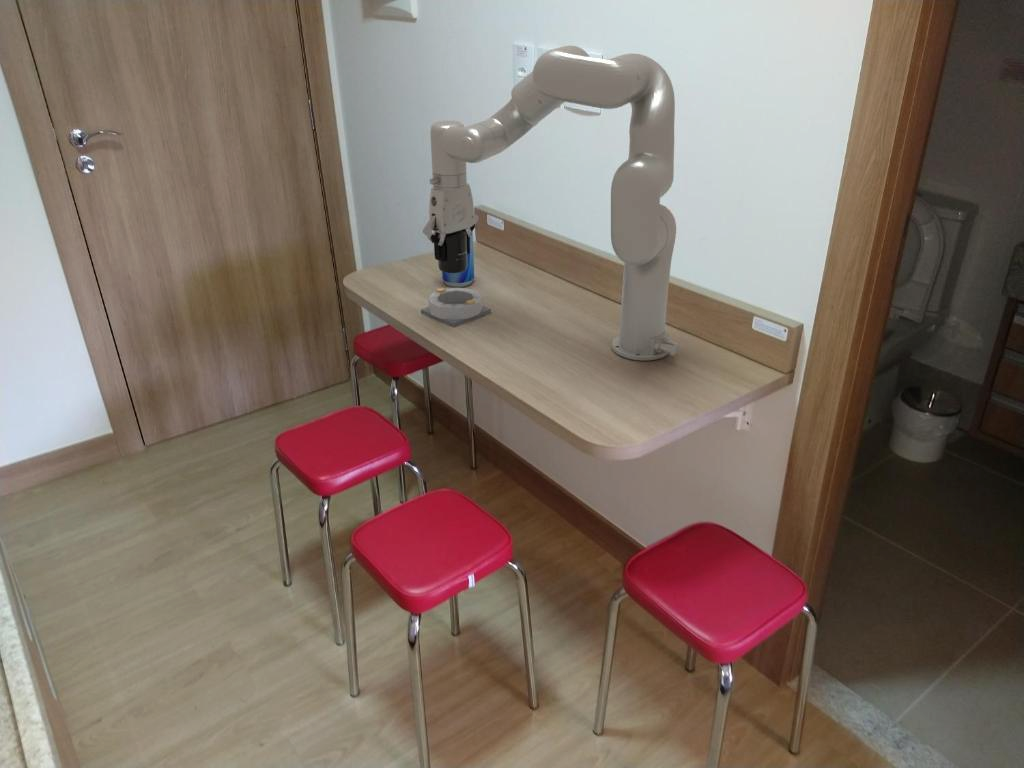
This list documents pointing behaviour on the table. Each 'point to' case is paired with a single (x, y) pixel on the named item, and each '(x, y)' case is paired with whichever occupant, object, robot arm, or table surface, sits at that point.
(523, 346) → the table surface
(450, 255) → the supplement bottle
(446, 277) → the beer can
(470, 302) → the socket
